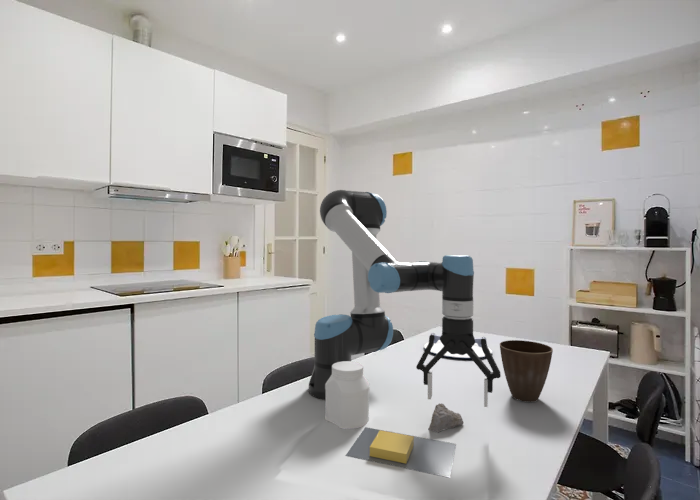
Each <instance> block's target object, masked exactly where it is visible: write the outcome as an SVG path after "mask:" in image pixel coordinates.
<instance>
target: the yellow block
mask: <svg viewBox="0 0 700 500" xmlns="http://www.w3.org/2000/svg"><path fill="white" fill-rule="evenodd" d="M379 430H380V431H379V432H378V434H377V436H376V437H375V439H374V441H373V442H372V444H371V446H370V456H372V457H377V458H381V459H386V460H391V461H396V462H401V463H407V461H408V458H409V456H410V453H411V451H412V448H413V446H414V436H415V435H411V436H409V435H410V434H406V435H403V434H404V433H400V434H398V433H399V432H395V433H392V432H393V431H389V432H387V431H388V430H384V431H381V430H382V429H379Z"/></svg>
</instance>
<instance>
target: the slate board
mask: <svg viewBox="0 0 700 500" xmlns="http://www.w3.org/2000/svg"><path fill="white" fill-rule="evenodd" d="M380 430H381V431H385V430H383V429H378V428H373V427H367V426H365V427H364V428H363V430H361V432H360V434H359V435H358V437H357V438H356V440H355V441H354V443H353V444H352V445H351V447H350V448H349V450H348V451H347V453H346V454H345V457H348V458H349V457H350V458H355V459H359V460H363V461H364V460H365V461H368V462H369V461H370V462H372V463H374V462H375V463H379V464H382V465H387V466H388V465H389V466H393V467H397V468H402V469H406V470H412V471H416V472H420V473H421V472H422V473H425V474H431V475H434V476H439V477H445V478H449V479H450V478H451V474H452V469H453V463H454V458H455V453H456V448H457V443H455V442H449V441H442V440H438V439H432V438H426V437H421V436H416V435H413V436H414V446H413V448H412V451H411V453H410V456H409V458H408V461H407V463H401V462H396V461H391V460H386V459H381V458H377V457H372V456H370V446H371V444H372V442H373V441H374V439H375V437H376V436H377V434H378V432H379V431H380ZM386 431H387V432H390V431H388V430H386ZM391 432H392V433H396V432H394V431H391ZM397 433H398V434H401V432H400V433H399V432H397ZM402 434H403V435H407V434H405V433H402ZM408 435H409V436H412V435H410V434H408Z"/></svg>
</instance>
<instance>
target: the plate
mask: <svg viewBox="0 0 700 500" xmlns="http://www.w3.org/2000/svg"><path fill="white" fill-rule="evenodd" d="M428 343H429V341H428V342H426V343H425V344H424V345H423V348H424V350H425V349H426V347H427V345H428ZM443 347H444V345H443V344H442V342H441V341H440V340H438V341H437V343H434V345H433V347H432V349H431V351H430V352H429V353H431V354H433V355H434V354H435V355H436V354H437V353H438V352H439V351H440V350H441V349H442V348H443ZM487 347H488V349H489V351H490V353H491V355H492V354H493V350H492V349H491V348H490V347H489V346H487ZM472 349H473V350H474V351H475V353H476V354H477V355H478V357H479V358H480V359H481V358H486V356H485V354H484V352H483V350H482V347H479V346H478V344H477V343H475V344H474V345H473V346H472ZM442 357H447V358H453V359H455V358H456V359H465V360H466V359H468V360H469V359H471V358H470V357H469V356H468V354H467V353H466V354H464V355H459V354H451V353H449V352H448V351H447V352H446V353H445V355H443V356H442Z"/></svg>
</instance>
